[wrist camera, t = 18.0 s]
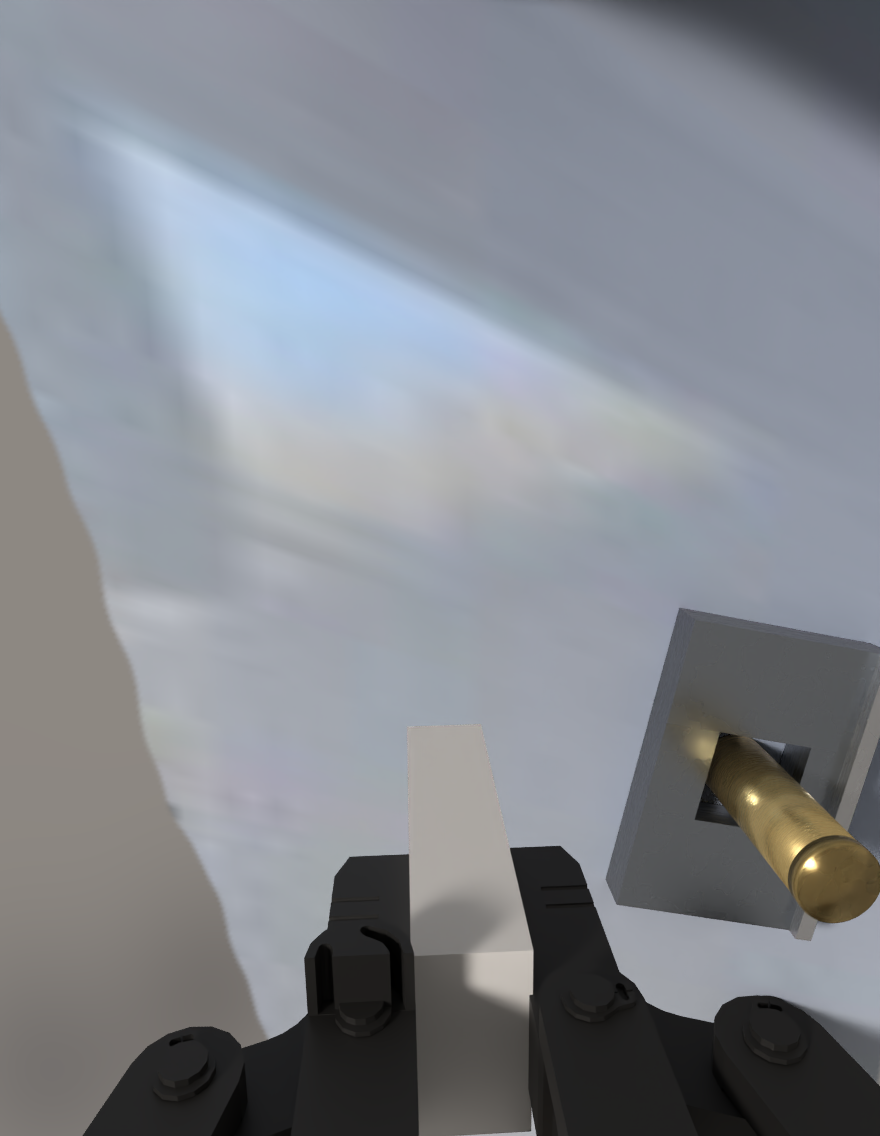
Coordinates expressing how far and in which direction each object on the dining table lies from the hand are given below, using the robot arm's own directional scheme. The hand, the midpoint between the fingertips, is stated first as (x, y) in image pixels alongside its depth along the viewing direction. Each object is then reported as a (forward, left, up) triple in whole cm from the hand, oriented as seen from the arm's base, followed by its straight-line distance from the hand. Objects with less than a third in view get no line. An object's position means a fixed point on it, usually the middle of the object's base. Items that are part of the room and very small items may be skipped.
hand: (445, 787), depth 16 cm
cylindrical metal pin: (+10, +22, -29) cm, 38 cm away
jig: (+10, +22, -29) cm, 38 cm away
